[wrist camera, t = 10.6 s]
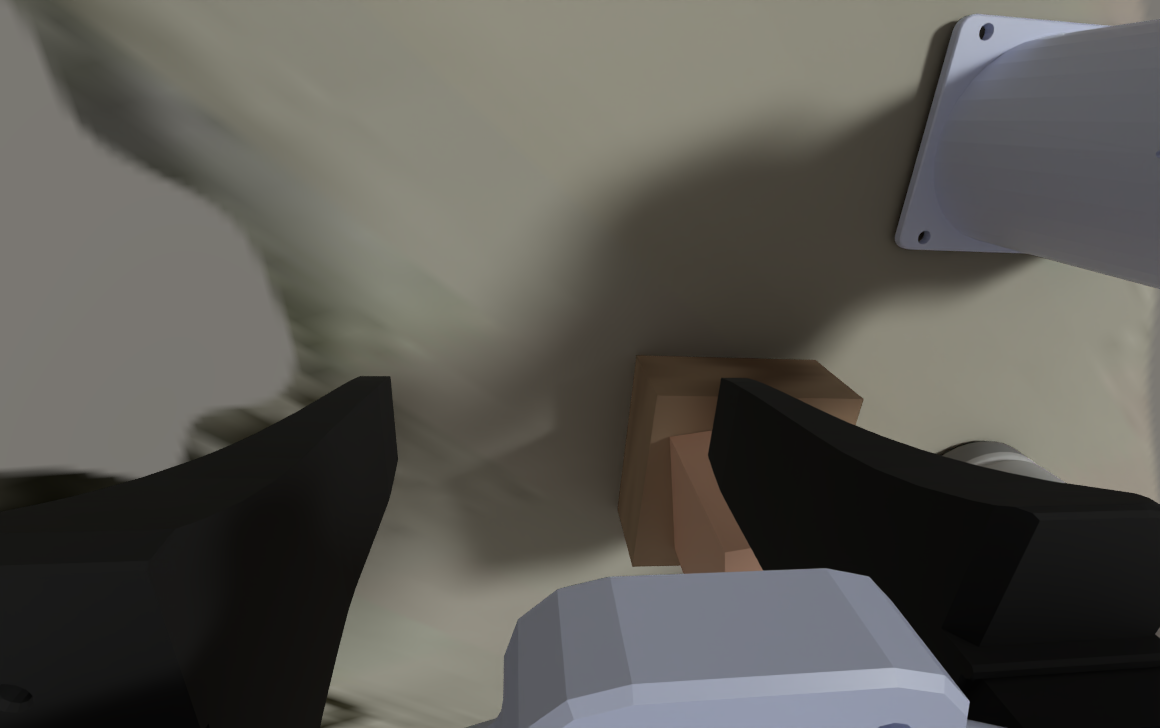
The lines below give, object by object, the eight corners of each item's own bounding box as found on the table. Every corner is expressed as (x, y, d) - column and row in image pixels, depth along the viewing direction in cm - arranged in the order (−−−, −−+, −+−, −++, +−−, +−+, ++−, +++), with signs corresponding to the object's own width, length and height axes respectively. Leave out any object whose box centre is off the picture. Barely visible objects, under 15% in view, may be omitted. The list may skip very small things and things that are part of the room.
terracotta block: (812, 415, 21) (917, 521, 15) (803, 528, 23) (890, 654, 18) (669, 436, 21) (725, 552, 15) (674, 549, 23) (724, 684, 18)
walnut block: (812, 357, 25) (863, 399, 21) (773, 504, 28) (812, 562, 24) (635, 352, 24) (657, 395, 20) (616, 505, 27) (632, 566, 23)
